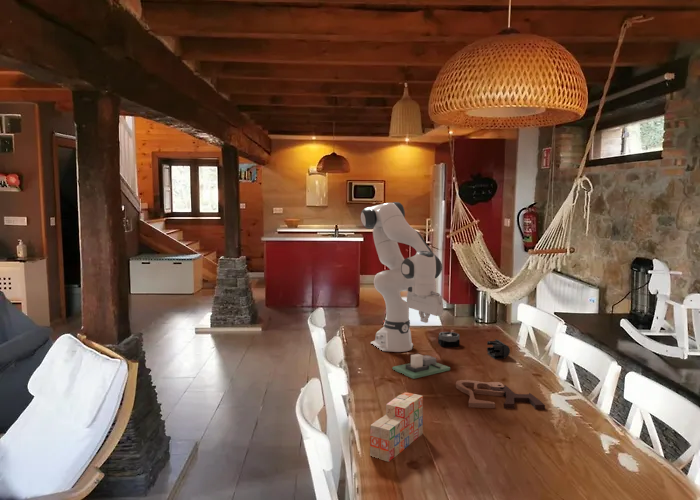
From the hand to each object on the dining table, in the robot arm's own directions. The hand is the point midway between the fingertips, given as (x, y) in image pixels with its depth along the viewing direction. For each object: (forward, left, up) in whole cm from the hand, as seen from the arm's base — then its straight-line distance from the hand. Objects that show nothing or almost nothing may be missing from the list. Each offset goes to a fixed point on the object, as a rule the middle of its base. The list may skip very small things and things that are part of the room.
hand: (424, 321), depth 218 cm
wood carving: (+38, +2, -21) cm, 44 cm away
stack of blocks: (+49, -52, -21) cm, 74 cm away
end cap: (+4, +41, -21) cm, 46 cm away
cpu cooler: (-23, +36, -21) cm, 48 cm away
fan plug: (+1, -5, -19) cm, 20 cm away
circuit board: (0, -2, -21) cm, 21 cm away
